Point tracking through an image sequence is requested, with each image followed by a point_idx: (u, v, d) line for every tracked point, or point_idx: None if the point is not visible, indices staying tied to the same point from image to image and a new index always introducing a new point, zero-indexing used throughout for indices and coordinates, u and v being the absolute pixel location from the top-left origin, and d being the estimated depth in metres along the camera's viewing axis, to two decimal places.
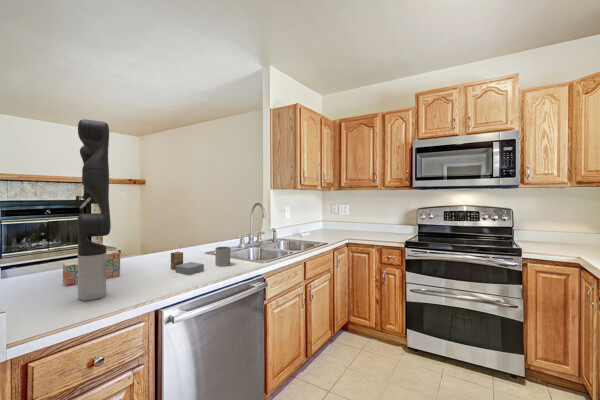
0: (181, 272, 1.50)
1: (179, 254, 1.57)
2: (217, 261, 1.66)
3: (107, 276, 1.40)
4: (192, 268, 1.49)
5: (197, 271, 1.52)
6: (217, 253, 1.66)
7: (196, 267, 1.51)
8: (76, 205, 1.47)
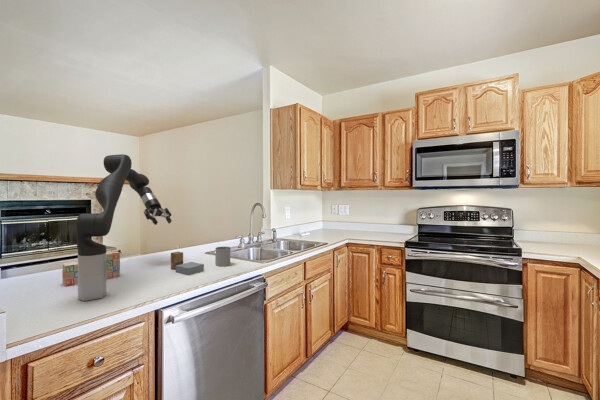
0: (181, 272, 1.50)
1: (179, 254, 1.57)
2: (217, 261, 1.66)
3: (107, 276, 1.39)
4: (192, 268, 1.49)
5: (197, 271, 1.52)
6: (217, 253, 1.66)
7: (196, 267, 1.51)
8: (149, 215, 1.60)
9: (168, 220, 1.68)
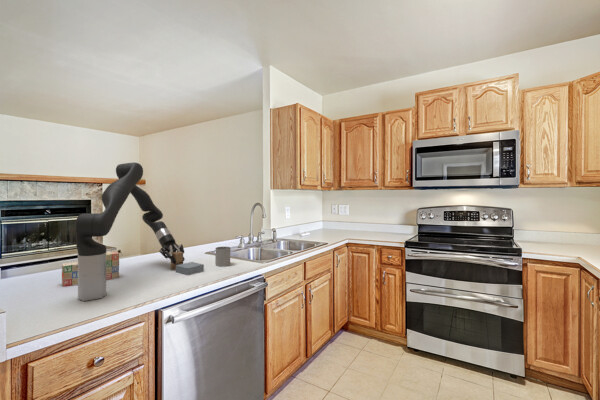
0: (181, 272, 1.50)
1: (179, 254, 1.57)
2: (217, 261, 1.66)
3: None
4: (191, 268, 1.49)
5: (197, 271, 1.52)
6: (217, 253, 1.66)
7: (195, 267, 1.51)
8: (167, 254, 1.55)
9: None
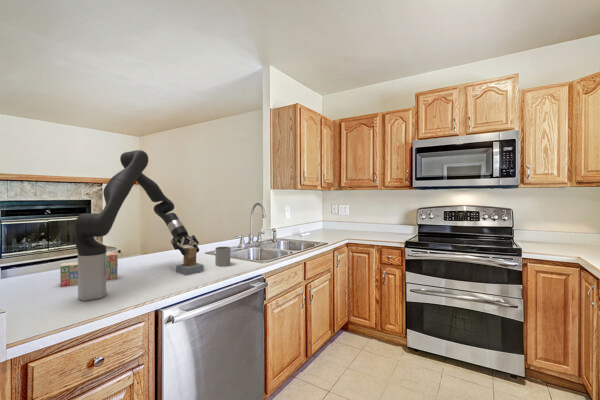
0: (180, 272, 1.50)
1: (192, 249, 1.53)
2: (217, 261, 1.66)
3: None
4: (191, 268, 1.49)
5: (196, 271, 1.51)
6: (217, 253, 1.66)
7: (195, 267, 1.51)
8: (177, 245, 1.48)
9: None
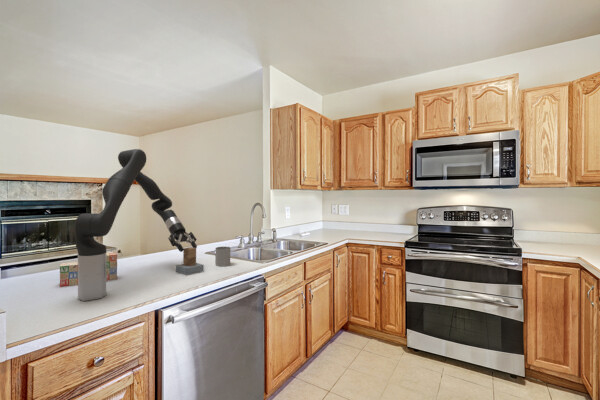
0: (180, 272, 1.50)
1: (192, 249, 1.52)
2: (217, 261, 1.66)
3: None
4: (191, 268, 1.49)
5: (196, 271, 1.51)
6: (217, 253, 1.66)
7: (195, 267, 1.51)
8: (174, 241, 1.49)
9: (193, 246, 1.58)
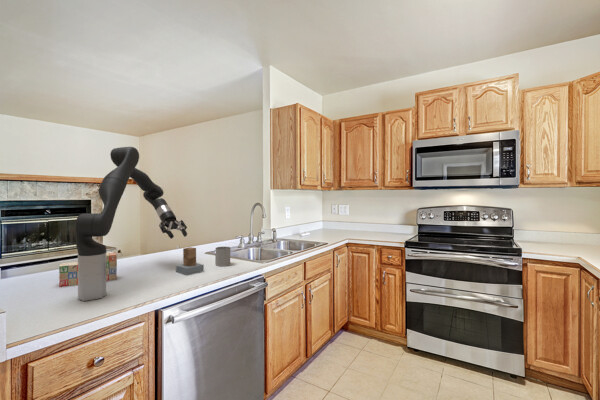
0: (180, 272, 1.50)
1: (192, 250, 1.52)
2: (217, 261, 1.66)
3: None
4: (191, 268, 1.49)
5: (196, 271, 1.51)
6: (217, 253, 1.66)
7: (195, 267, 1.51)
8: (164, 228, 1.53)
9: (184, 233, 1.62)
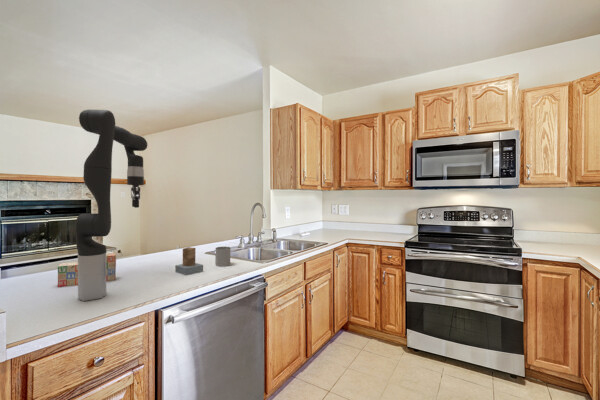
0: (180, 272, 1.50)
1: (192, 250, 1.52)
2: (217, 261, 1.66)
3: None
4: (190, 268, 1.49)
5: (196, 271, 1.51)
6: (217, 253, 1.66)
7: (195, 267, 1.51)
8: (139, 196, 1.45)
9: None
